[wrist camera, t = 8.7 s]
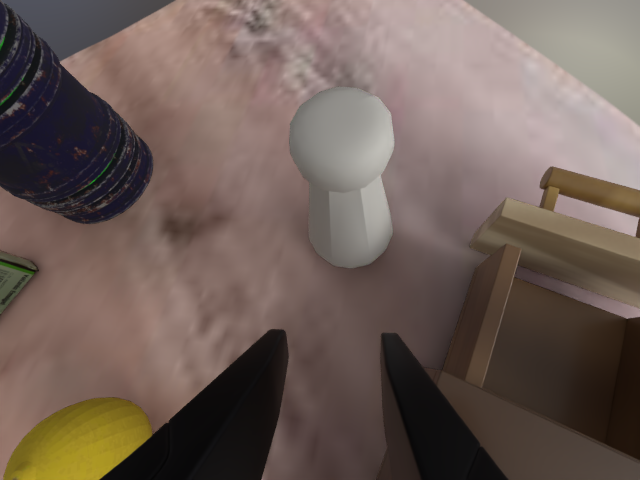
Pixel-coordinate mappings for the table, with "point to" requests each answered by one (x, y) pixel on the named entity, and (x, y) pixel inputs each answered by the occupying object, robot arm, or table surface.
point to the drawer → (557, 314)
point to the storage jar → (62, 135)
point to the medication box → (13, 276)
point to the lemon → (80, 441)
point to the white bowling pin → (345, 173)
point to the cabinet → (526, 439)
